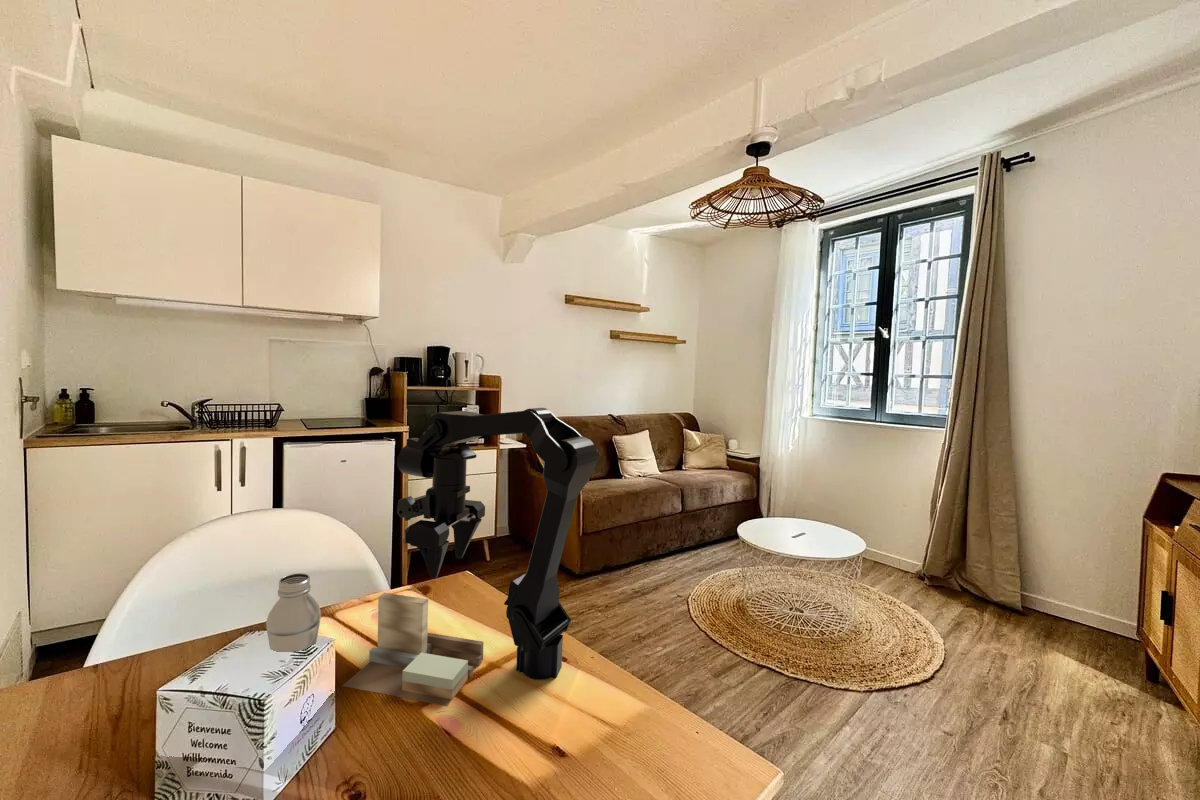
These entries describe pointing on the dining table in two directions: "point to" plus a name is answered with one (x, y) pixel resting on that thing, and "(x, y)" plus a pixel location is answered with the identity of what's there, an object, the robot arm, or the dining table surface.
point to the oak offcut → (434, 688)
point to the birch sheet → (402, 623)
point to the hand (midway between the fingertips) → (446, 567)
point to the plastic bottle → (293, 615)
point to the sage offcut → (435, 670)
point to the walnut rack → (389, 665)
